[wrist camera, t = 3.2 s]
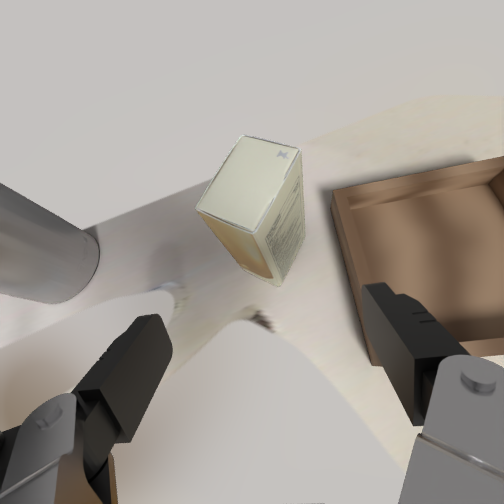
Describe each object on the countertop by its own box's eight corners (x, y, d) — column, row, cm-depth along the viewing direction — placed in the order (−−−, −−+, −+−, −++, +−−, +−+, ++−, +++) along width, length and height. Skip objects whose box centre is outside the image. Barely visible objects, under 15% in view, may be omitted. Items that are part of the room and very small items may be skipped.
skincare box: (269, 221, 27) (242, 128, 16) (307, 235, 26) (305, 143, 15) (240, 273, 26) (189, 207, 15) (278, 291, 24) (253, 233, 13)
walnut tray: (371, 365, 20) (382, 366, 17) (330, 208, 26) (333, 190, 24) (590, 343, 18) (644, 340, 15) (490, 178, 24) (514, 153, 21)
